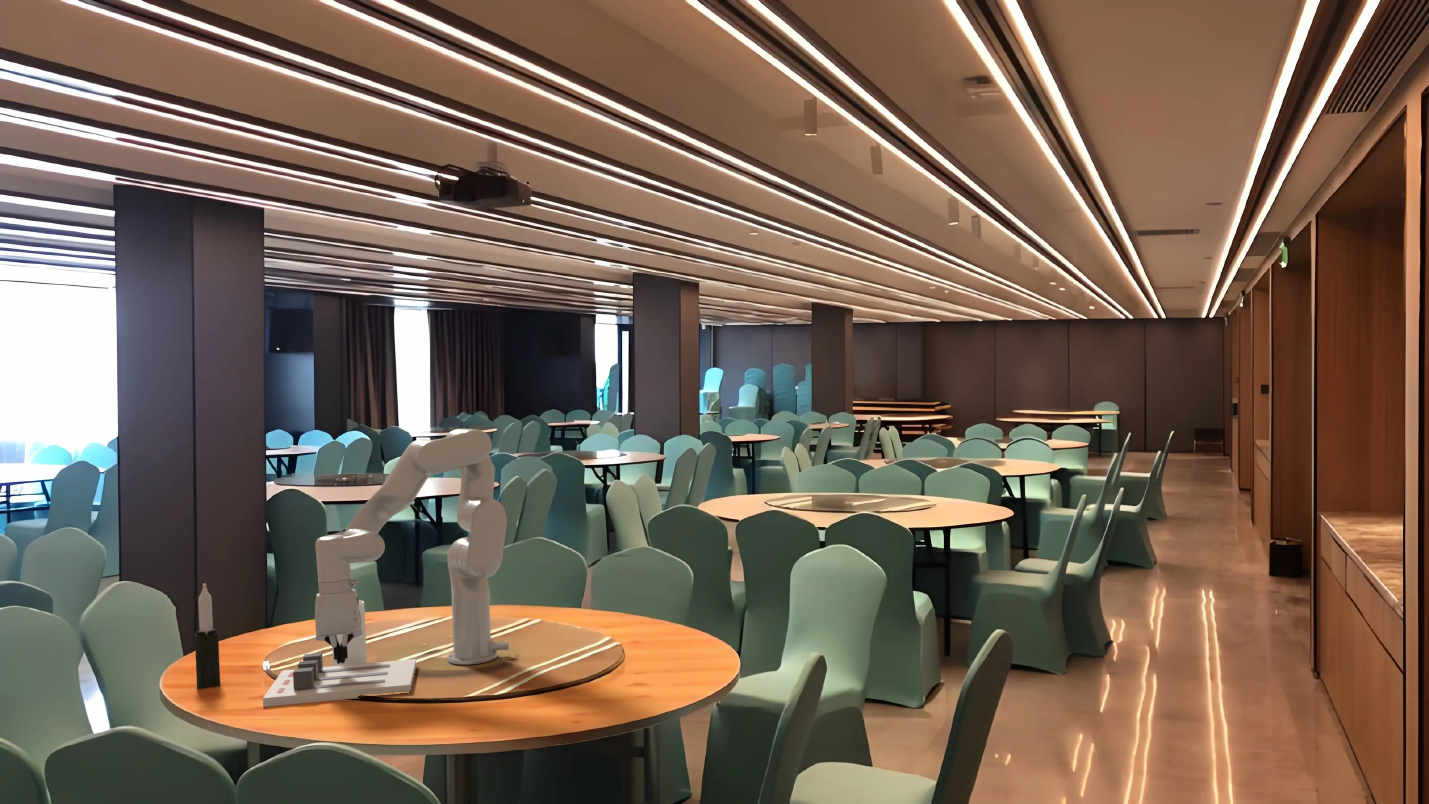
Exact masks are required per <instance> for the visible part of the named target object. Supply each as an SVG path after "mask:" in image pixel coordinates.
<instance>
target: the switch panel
mask: <svg viewBox="0 0 1429 804" xmlns="http://www.w3.org/2000/svg"><path fill="white" fill-rule="evenodd" d="M311 660H318V678H317V680H314V670H313V667H312V668H300V669H298V668H294V669H286V670H285V669H284V670H282V671H281V672H280V673H279V675H278V676H277V677H276V679H275V680H274V681H273V683H272V685H271V686H270V688H268V690H267V692H266V693H265V694H264V696H263V698H262V707H263V708H266V707H277V706H278V707H279V706H289V705H298V704H309V703H319V702H320V703H321V702H322V703H323V702H330V701H341V700H342V701H343V700H352V699H359V698H358V696H360V695H364V694H383V693H395V692H410V690H411V691H412V688H411V686H412V687H413V684H412V682H413V683H414V679H413V678H415V675H416V671H415V669H417V658H412V659H403V660H402V659H401V660H392V661H391V660H390V661H389V660H388V661H387V660H386V661H378V662H367V663H364V664H353V665H341V666H333V665H332V666H324V665H323V652H317V653H316V652H315V653H305V654H304V655H303V656H302V661H311ZM414 674H415V675H414Z"/></svg>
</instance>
